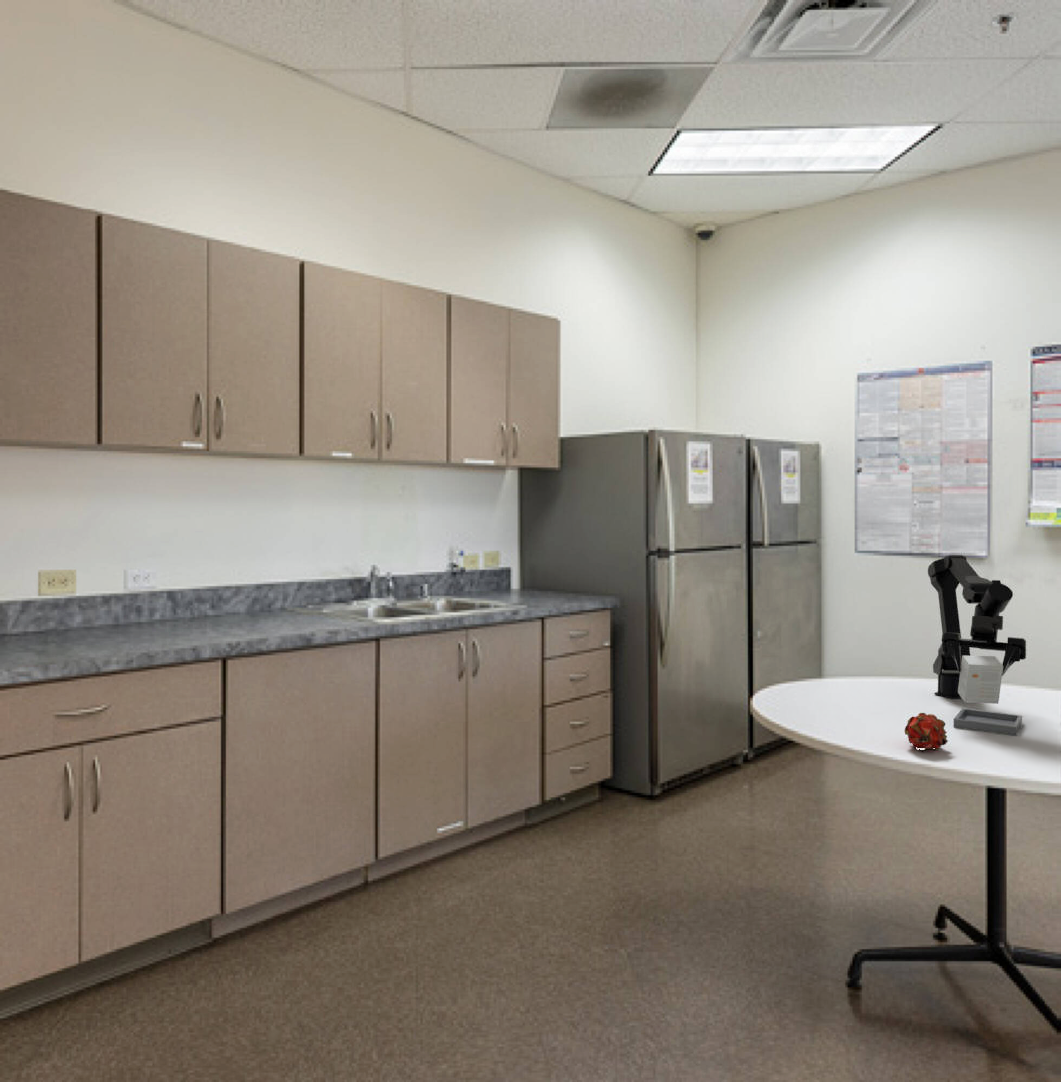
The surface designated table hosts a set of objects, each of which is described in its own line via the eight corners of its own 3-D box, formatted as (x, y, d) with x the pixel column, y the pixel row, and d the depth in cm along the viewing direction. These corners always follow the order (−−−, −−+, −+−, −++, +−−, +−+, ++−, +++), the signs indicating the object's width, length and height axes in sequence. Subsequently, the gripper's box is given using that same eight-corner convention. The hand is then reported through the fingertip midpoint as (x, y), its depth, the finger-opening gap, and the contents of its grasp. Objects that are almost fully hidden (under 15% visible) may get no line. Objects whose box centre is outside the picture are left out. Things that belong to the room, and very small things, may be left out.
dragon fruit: (930, 748, 198) (927, 769, 188) (898, 724, 201) (893, 744, 190) (955, 723, 195) (953, 743, 184) (922, 698, 197) (918, 717, 187)
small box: (990, 694, 216) (995, 655, 213) (998, 704, 210) (1004, 665, 207) (956, 692, 217) (961, 654, 214) (964, 703, 212) (969, 664, 209)
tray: (953, 726, 211) (953, 718, 211) (962, 715, 222) (962, 708, 222) (1016, 735, 204) (1016, 727, 203) (1022, 723, 215) (1022, 715, 215)
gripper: (943, 601, 220) (936, 649, 212) (1027, 606, 210) (1023, 657, 202) (946, 627, 227) (940, 675, 219) (1027, 633, 217) (1023, 684, 209)
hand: (980, 672), depth 212 cm, fingers closed on small box, 9 cm apart
